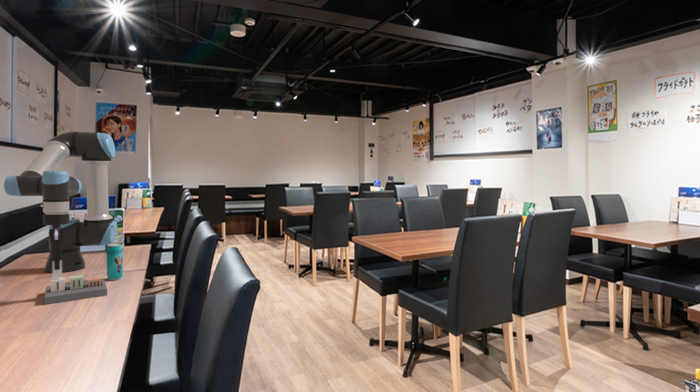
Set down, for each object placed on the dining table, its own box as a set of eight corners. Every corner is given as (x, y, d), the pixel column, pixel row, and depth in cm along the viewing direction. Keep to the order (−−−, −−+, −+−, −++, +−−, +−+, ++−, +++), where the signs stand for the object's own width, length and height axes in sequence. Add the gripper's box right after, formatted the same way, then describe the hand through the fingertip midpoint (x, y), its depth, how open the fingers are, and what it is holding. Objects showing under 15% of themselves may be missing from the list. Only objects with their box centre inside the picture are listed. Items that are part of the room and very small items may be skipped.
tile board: (46, 292, 139) (46, 286, 139) (103, 284, 150) (103, 278, 150) (44, 304, 126) (44, 297, 126) (107, 295, 137) (107, 288, 137)
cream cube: (51, 289, 135) (50, 278, 135) (64, 287, 137) (64, 277, 137) (50, 292, 132) (50, 281, 132) (64, 290, 134) (64, 279, 134)
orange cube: (87, 288, 142) (87, 278, 142) (100, 286, 144) (100, 276, 144) (88, 291, 138) (88, 280, 138) (101, 289, 141) (101, 278, 141)
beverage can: (115, 281, 155) (114, 246, 154) (103, 280, 156) (103, 245, 156) (126, 277, 161) (125, 243, 160) (114, 276, 162) (114, 243, 161)
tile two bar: (69, 287, 138) (69, 276, 138) (83, 285, 141) (82, 274, 141) (69, 289, 135) (69, 279, 135) (83, 287, 137) (83, 277, 137)
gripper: (43, 212, 136) (44, 275, 137) (41, 215, 126) (43, 283, 127) (69, 211, 141) (70, 272, 142) (69, 214, 130) (70, 280, 131)
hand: (57, 277), depth 134 cm, fingers closed
